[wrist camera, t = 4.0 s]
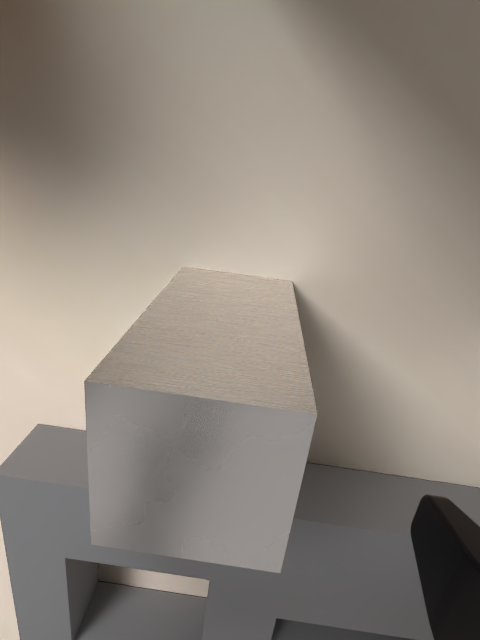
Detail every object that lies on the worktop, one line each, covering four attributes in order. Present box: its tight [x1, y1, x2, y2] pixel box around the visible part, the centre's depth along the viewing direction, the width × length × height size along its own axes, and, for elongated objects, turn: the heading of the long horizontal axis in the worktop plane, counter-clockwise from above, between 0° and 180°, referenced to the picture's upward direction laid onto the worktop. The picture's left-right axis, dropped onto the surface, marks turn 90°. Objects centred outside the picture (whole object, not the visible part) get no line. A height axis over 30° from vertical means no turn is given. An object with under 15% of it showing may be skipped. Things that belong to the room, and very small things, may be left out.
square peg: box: [84, 267, 317, 573], centre depth 11 cm, size 4×4×8 cm
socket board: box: [0, 424, 480, 640], centre depth 18 cm, size 14×20×3 cm
